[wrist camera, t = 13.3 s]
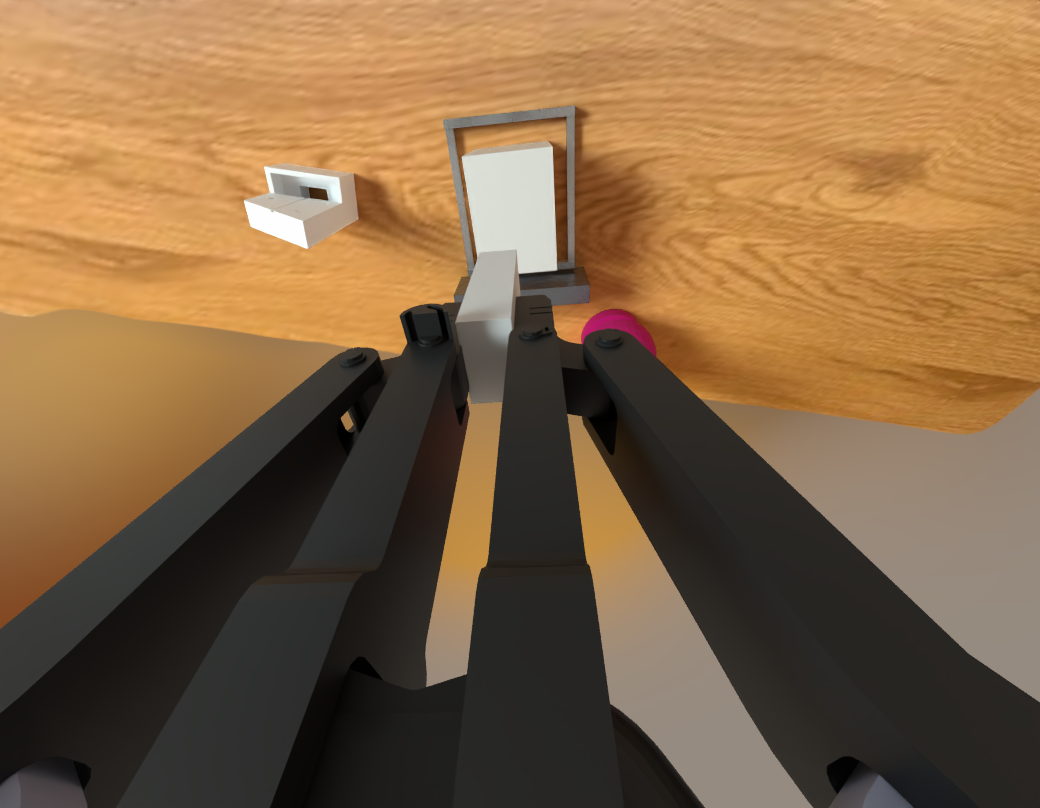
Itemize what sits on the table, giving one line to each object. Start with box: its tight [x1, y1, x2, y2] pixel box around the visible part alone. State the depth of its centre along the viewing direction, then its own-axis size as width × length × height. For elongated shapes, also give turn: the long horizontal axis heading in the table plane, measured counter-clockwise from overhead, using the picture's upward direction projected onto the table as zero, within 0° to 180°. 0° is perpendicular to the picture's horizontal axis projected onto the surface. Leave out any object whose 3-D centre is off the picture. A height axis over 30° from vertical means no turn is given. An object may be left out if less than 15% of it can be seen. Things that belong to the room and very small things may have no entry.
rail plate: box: [443, 106, 590, 306], centre depth 32 cm, size 14×12×5 cm
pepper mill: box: [581, 309, 656, 357], centre depth 33 cm, size 7×7×20 cm
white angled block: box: [244, 163, 359, 249], centre depth 31 cm, size 4×10×9 cm, turn 83°
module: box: [462, 141, 557, 274], centre depth 31 cm, size 8×6×8 cm
